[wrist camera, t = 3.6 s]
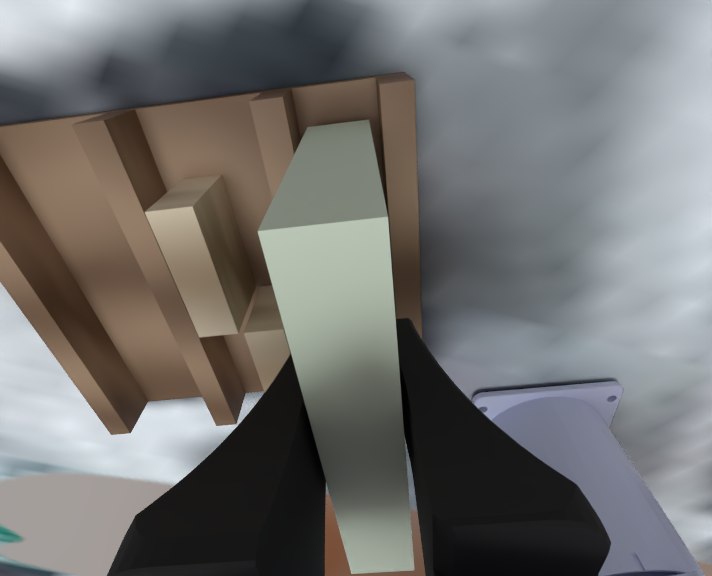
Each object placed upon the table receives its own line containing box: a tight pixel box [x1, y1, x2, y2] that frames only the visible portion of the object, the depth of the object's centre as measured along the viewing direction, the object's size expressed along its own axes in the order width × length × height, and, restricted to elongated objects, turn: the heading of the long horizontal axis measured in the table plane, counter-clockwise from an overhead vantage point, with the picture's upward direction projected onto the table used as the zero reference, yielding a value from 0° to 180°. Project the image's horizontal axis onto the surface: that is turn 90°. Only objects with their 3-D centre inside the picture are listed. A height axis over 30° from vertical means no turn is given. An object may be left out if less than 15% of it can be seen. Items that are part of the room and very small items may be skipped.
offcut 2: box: [244, 285, 291, 392], centre depth 17 cm, size 5×2×3 cm, turn 7°
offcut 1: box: [145, 175, 256, 337], centre depth 15 cm, size 5×2×3 cm, turn 7°
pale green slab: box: [258, 120, 414, 574], centre depth 13 cm, size 12×2×8 cm, turn 7°
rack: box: [0, 72, 422, 435], centre depth 16 cm, size 14×16×3 cm
